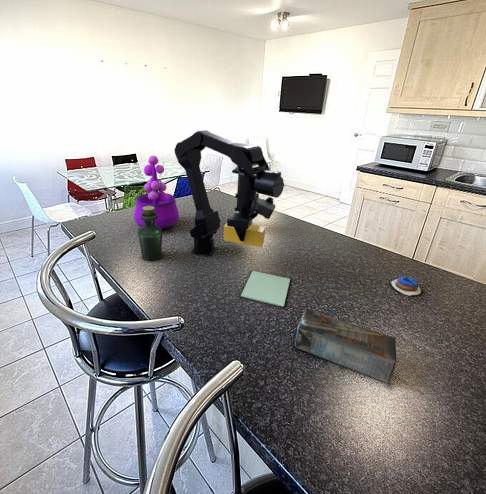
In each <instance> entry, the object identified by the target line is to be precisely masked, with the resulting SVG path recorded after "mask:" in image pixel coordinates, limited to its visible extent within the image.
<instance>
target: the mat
mask: <svg viewBox="0 0 486 494" xmlns="http://www.w3.org/2000/svg"><path fill="white" fill-rule="evenodd" d="M290 282H291V278H289V277H284V276H279V275H274V274H271V273H264V272H261V271H256V270H252V271H251V273H250V275H249V277H248V278H247V281H246V284H245V286H244V288H243V290H242V292H241V293H240V297H241V298H245V299H249V300H253V301H257V302H261V303H265V304H270V305H272V306H277V307H281V308H284V306H285V303H286V300H287V296H288V291H289V287H290Z"/></svg>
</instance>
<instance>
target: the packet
mask: <svg viewBox="0 0 486 494" xmlns="http://www.w3.org/2000/svg"><path fill="white" fill-rule="evenodd" d="M265 237H266V226H264V225H257V224H252V225H251V226H250V227H249V228H248V229H247V231H246V235H245V239H244V241H243V242H242V241H240V239H239V237H238V235H237V233H236V231H235V229H234V227H229V226H227V222H226V223H225V224H224V226H223V241H224V242H229V243H236V244H240V245H246V246H252V247H256V248H262V247H263V244H264V243H265Z"/></svg>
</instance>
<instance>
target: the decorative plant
mask: <svg viewBox="0 0 486 494" xmlns="http://www.w3.org/2000/svg"><path fill="white" fill-rule="evenodd" d="M147 161H148V164H146V165H145V166H144V167H143V173H144V175H145V176H146V177H150V178H149V179H148V182H146V183H145V184H144V186H143V187H144V189H143V190H144V191H146V192H147V193H143V194H140V195H138V196H137V197H136V198H135V208H134V214H133V219H134V222H135V224H137V225H138V226H139V227H140V228H141V227H143V226H145V223H144V221H143V220H141V219H140V217H141V214H142V213H144V212H143V207H145V206H153V207H154V212H155V213H157V215H158V219H156V220H155V222H154V225H157V226H159V227H160V228H161V229H162V230H163V229H166V228H169V227H172V226H174V225H175V223H176V222H177V221H178V220H179V218H180V216H179V209H178V206H177V202H176V197H175V196H174V195H173V194H171V193H167V192H165V191H166V190H167V184H166V183H165V182H162V181H159V178H158V174H161V175H162V174H163V173H164V172H165V167H164V165H162V164H159V161H160V160H159V158H158V157H157V156H156V155H150V156H149V157H148V160H147Z"/></svg>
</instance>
